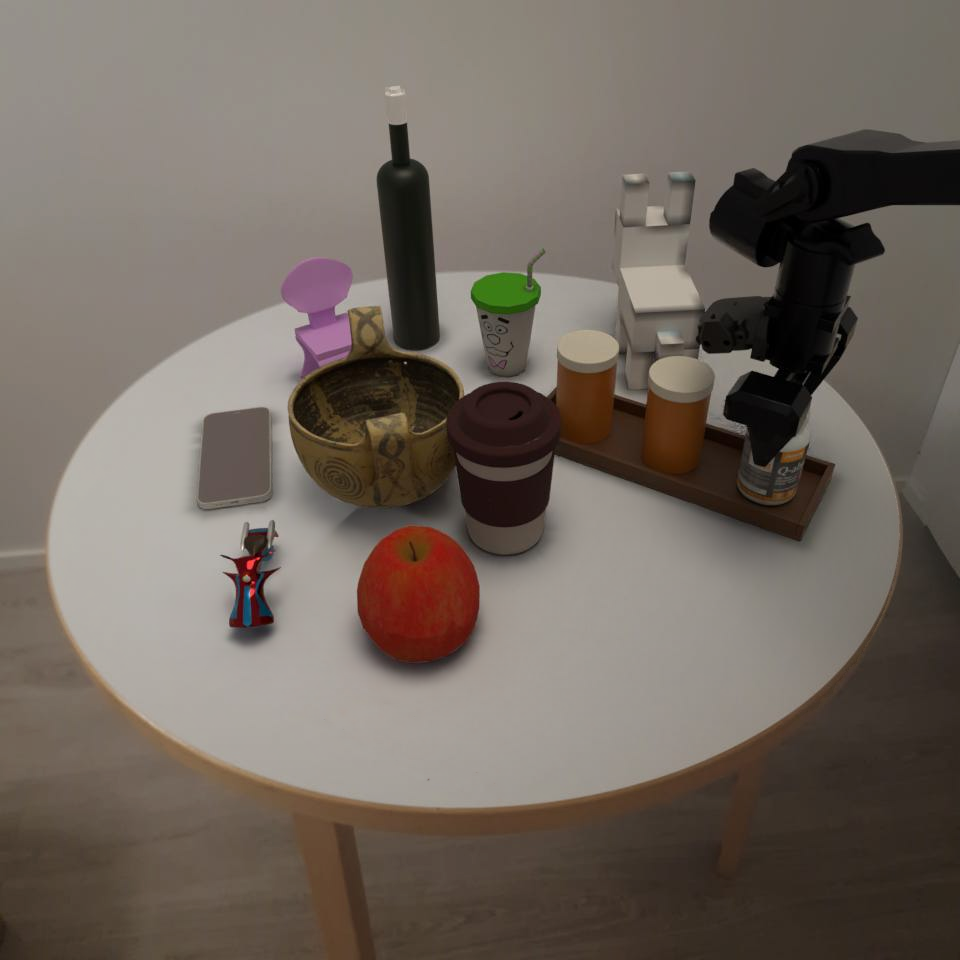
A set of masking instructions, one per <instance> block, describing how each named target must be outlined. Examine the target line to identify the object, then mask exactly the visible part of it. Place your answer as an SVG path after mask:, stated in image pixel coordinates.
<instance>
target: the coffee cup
mask: <svg viewBox="0 0 960 960" xmlns="http://www.w3.org/2000/svg"><path fill="white" fill-rule="evenodd" d="M561 422H562V420H561V414H560V411H559V410H558V408H557V406H556V405H555V404H554V403H553V402H552V401H551V400H550V399H549V398H547V396H546V395H544V394H543V393H541V392H538V391H536V390H535V389H534V388H533V387H530V386H528V385H526V384H523V383H520V382H515V381H493V382H489V383H485V384H482V385H480V386H478V387H476V388H475V389H473V390H471V391H470V392H469V393H467V394H464V397H462V398H460V399H459V400H458V401H457V402H456V403H455V404H454V405H453V406H452V407H451V409H450V410H449V412H448V415H447V419H446V428H447V437H448V440H449V443H450V445H451V447H452V448H453V449H454V450H455V451H454V458H455V464H456V467H455V471H456V476H457V484H458V490H459V497H460V503H461V505H462V508H463V509H464V514H465V521H466V528H467V533H468V535H469V537H470V539H471V541H472V542H473V543H474V544H475V545H476V546H477V547H478V548H480V549H481V550H483V551H486V552H487V553H490V554H494V555H502V556H503V555H504V556H510V555H516V554H520V553H523V552H525V551H528V550H529V549H531V548H532V547H534V546H535V545H536V544H537V543H538V542H539V541H540V539H541V538H542V536H543V533H544V529H545V521H546V510H547V507H548V505H549V502H550V497H551V488H552V480H553V472H554V464H555V455H556V454H555V451H554V448H555V447H556V445H557V444H558V442H559V440H560V436H561Z"/></svg>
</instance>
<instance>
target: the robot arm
mask: <svg viewBox="0 0 960 960" xmlns="http://www.w3.org/2000/svg"><path fill="white" fill-rule="evenodd" d="M733 177H734V178H733V184H732V185H730V187H729V188H728V189H726V191H724V193H723V194H722V195H721V196H720V197H719V200H718V201H717V202H716V204H715V205H714V208H713V210H711V212H710V214H709V220H708V228H709V232H710V233H709V234H710V235H711V236H712V238H713V239H714V240H715V241H717V242H718V243H719V244H721V245H723V246H725V247H727V248H728V249H730V250H732V251H733V252H735V253H736V254H738V255H740V256H741V257H743V258H744V259H746V260H748V261H750V262H752V263H753V264H755V265H757V266H758V267H761V268H772V267H775V266H777V265H778V264H779V268H778V272H777V276H776V281H775V286H774V291H773V294H772V296H761V295H751V296H738V297H726V298H720V299H717V300H715V301H713V302H712V303H711V304H710V305H709V307H708V308H707V309H705V313H704V314H703V315H702V316H701V318H700V319H699V321H700V324H699V325H698V326H697V327H698V335H697V336H696V342H697V343H698V344H700V346H701V349H702V350H703V352H705V353H706V354H708V355H715V354H718V355H719V354H730V353H732V352H737V351H738V352H739V351H741V352H742V351H749V350H751V351H750V357H749V359H752V360H755V361H759V362H762V363H763V362H765V361H769V364H770V366H772V367H774V368H776V369H778V370H777V371H776V372H775V374H774V376H772V375H769V374H765V373H762V372H758V371H755V370H750V371H747V372H746V373H744V374H741V375H739V377H738V378H737V380H736V381H735V383H734V384H733V386H731V389H730V390H729V392H728V393H727V394H726V396H725V398H724V399H725V400H724V405H723V409H722V410H723V411H722V416H723V417H724V418H725V419H726V420H727V421H730V422H733V423H737V424H740V425H743V426H746V431H747V430H748V433H749V438H750V444H751V450H752V456H753V462H754V464H756V465H758V466H761V467H766V466H767V465H768V464H769V463H770V462H771V460H772V459H773V458H774V457H775V456H776V455H777V454H778V453H779V452H780V450H781V449H782V448H783V447H784V446H785V445H786V444H787V443H788V442H789V441H790V440H791V439H792V438H793V437H796V435H797V434H798V432H799V430H800V429H801V427H802V425H803V423H804V422H805V420H806V418H807V417H806V416H807V413H808V411H809V408H810V409H811V404H812V401H813V396H812V395H814V393H815V391H817V389H818V388H819V387H820V385H821V384H822V382H823V381H825V379H826V378H827V377H828V375H829V374H830V373H831V371H832V370H833V369H834V367H835V366H836V365H837V364H838V363H839V361H840V360H841V359H842V357H843V355H844V353H845V351H846V350H847V348H848V345H850V342H851V340H852V339H853V337H854V334H855V331H856V327H857V323H858V321H859V317H858V316H857V314H856V313H855V312H854V310H853V309H852V307H851V306H849V305H850V301H851V297H852V296H851V295H848V293H849V288H850V287H851V283H852V278H853V275H854V271H855V268H856V265H857V264H860V263H864V262H867V261H869V260H872V259H875V258H877V257H880V256H883V255H884V254H885V252H886V248H885V246H884V244H883V242H882V241H881V240H882V239H880V237H878V236H877V235H876V234H875V232H874V231H873V229H872V225H871V223H870V222H863V223H861V224H858V225H853V224H851V223H849V222H847V221H845V220H843V219H841V218H845V217H850V216H853V215H857V214H861V213H866V212H870V211H873V210H877V209H881V208H886V207H891V206H960V139H959V140H947V141H946V140H945V141H944V140H943V141H929V142H926V141H918V140H913V139H910V138H909V137H908V136H905V135H903V134H901V133H898V132H897V133H896V132H890V131H883V130H877V129H876V130H875V129H870V128H869V129H867V128H866V129H864V128H863V129H861V130H857V131H856V130H855V131H853V132H849V133H845V134H842V135H838V136H833V137H830V138H825V139H822V140H819V141H815V142H811V143H808V144H805V145H801V146H798V147H797V148H796V149H794V150H793V151H792V152H791V157H790V159H789V160H788V161H787V165H786V169H785V171H784V172H783V174H781V175H780V177H778V178H777V179H776V180H774V179H772V178H770V177H768V176H767V175H766V174H765V172H763V171H761V170H759V169H757V168H755V167H752V168H748V169H745V170H744V169H743V170H741V171H737V172H736V173H734V176H733ZM837 335H840V337H838V336H837Z"/></svg>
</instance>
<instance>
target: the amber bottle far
mask: <svg viewBox="0 0 960 960" xmlns="http://www.w3.org/2000/svg"><path fill="white" fill-rule="evenodd" d="M619 355H620V354H619V344H618V342H617V341H616V340H615V337H613V336H612V335H610V334H608V333H606V332H604V331H599V330H593V329H579V330H574V331H571V332H568V333H566V334H564V335H563V336H561V338H560V339H558V341H557V344H556V358H557V362H556V363H557V365H556V366H557V367H556V368H557V369H556V387H557V396H556V406H557V408H558V410H559V411H560V414H561V420H562V422H561V437H563V438H564V439H567V440H570V441H573V442H576V443H580V444H590V443H595V442H599V441H601V440H603V439H605V438H606V437H607V436H608V435H609V434H610V432H611V429H612V417H613V405H614V394H615V393H616V392H615V391H616V378H617V368H618V367H617V366H618V361H619Z"/></svg>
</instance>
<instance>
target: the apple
mask: <svg viewBox="0 0 960 960" xmlns="http://www.w3.org/2000/svg"><path fill="white" fill-rule="evenodd" d="M480 588H481V586H480V582H479V577H478V574H477V570H476V567H475V565H474V562H473V561H472V560H471V558H470V556H469V555H468V553H467V552H466V550H465V549H464V548H463V547H462V545H460V544H459V543H458V542H457V541H456V540H455V539H454V538H452V537H451V536H450V535H448V534H447V533H445V532H442V531H441V530H438V529H436V528H434V527H431V526H425V525H424V526H423V525H412V524H411V525H406V526H403V527H400V528H397V529H395V530H393V531H391V532H390V533H389V534H387V535H386V536H384V537H383V538H381V540H379V542H377V544H376V545H375V546H374V547H373V549H372V550H371V551H370V553H369V555H368V557H367V558H366V560H365V561H364V563H363V567H362V569H361V573H360V575H359V578H358V582H357V587H356V602H357V603H356V604H357V614H358V617H359V620H360V623H361V626H362V629H363V630H364V631H365V633H366V634H367V636H368V637H369V638H370V640H371V641H372V642H373V644H375V646H376V648H378V649H379V650H380V651H381V652H383V653H384V654H386V655H388V656H389V657H391V658H393V659H394V660H396V661H399V662H404V663H410V664H413V663H415V664H416V663H431V662H434V661H437V660H440V659H442V658H445V657H447V656H449V655H451V654H452V653H454V652H455V651H456V650H458V649H459V648H460V647H462V646H463V645H464V644H466V642H467V641H468V639H469V637H470V636H471V635H472V633H473V631H474V629H475V628H476V624H477V619H478V616H479V611H480V602H481V601H480V599H481V598H480V596H481V595H480V594H481V593H480V592H481V591H480Z"/></svg>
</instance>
